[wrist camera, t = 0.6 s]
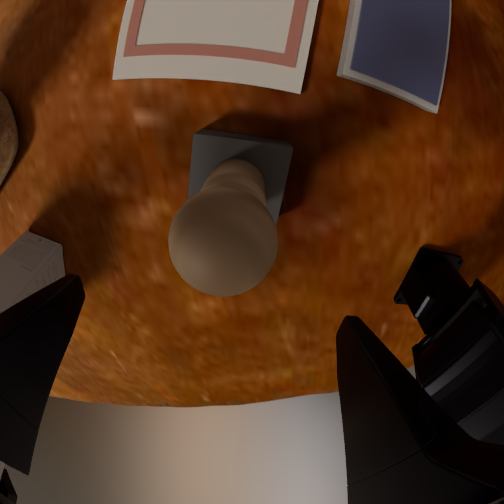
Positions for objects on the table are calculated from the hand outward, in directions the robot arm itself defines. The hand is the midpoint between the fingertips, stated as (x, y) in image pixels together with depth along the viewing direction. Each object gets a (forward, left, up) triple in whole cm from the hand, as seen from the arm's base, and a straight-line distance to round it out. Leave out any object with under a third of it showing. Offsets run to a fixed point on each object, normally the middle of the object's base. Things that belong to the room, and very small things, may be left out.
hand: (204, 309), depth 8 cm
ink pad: (-9, -14, -13) cm, 21 cm away
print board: (+3, -14, -13) cm, 20 cm away
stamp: (0, 0, -13) cm, 13 cm away
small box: (+20, +12, -13) cm, 26 cm away
